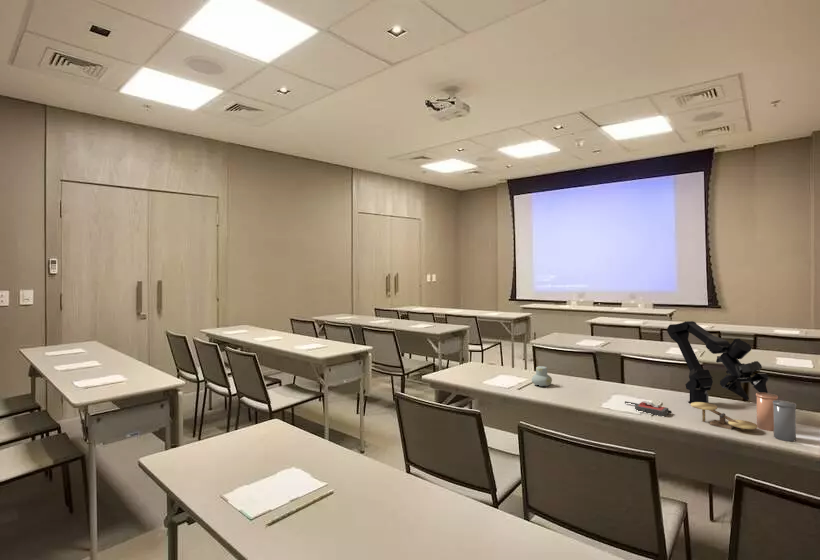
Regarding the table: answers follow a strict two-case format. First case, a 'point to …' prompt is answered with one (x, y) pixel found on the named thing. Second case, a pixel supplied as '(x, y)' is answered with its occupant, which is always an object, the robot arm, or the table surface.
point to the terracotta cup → (765, 411)
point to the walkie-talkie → (651, 408)
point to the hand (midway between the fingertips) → (758, 398)
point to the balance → (722, 417)
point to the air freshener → (541, 377)
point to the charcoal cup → (784, 420)
